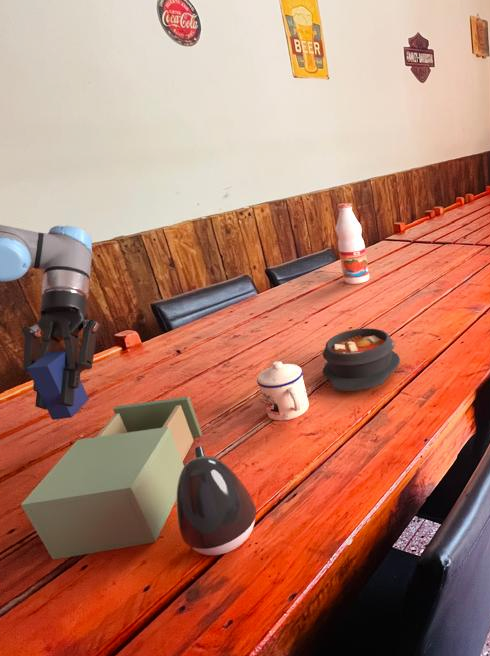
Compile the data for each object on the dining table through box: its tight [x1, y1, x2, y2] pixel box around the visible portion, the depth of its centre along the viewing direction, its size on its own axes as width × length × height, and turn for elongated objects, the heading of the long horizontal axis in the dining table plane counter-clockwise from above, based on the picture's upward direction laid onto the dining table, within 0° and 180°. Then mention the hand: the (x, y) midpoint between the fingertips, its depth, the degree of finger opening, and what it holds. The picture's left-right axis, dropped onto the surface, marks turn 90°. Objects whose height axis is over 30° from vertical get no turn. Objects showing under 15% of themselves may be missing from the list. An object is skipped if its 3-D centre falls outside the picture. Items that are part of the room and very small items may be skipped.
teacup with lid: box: [256, 360, 310, 421], centre depth 107 cm, size 12×9×12 cm
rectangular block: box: [27, 349, 90, 421], centre depth 101 cm, size 4×7×12 cm, turn 11°
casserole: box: [322, 327, 401, 392], centre depth 123 cm, size 25×19×8 cm
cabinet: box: [20, 427, 185, 560], centre depth 82 cm, size 16×14×11 cm
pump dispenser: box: [176, 445, 257, 556], centre depth 75 cm, size 10×10×15 cm
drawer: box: [95, 396, 203, 463], centre depth 95 cm, size 19×13×9 cm
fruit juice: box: [335, 202, 370, 285], centre depth 185 cm, size 9×9×28 cm
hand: (54, 405), depth 98 cm, fingers closed on rectangular block, 3 cm apart
